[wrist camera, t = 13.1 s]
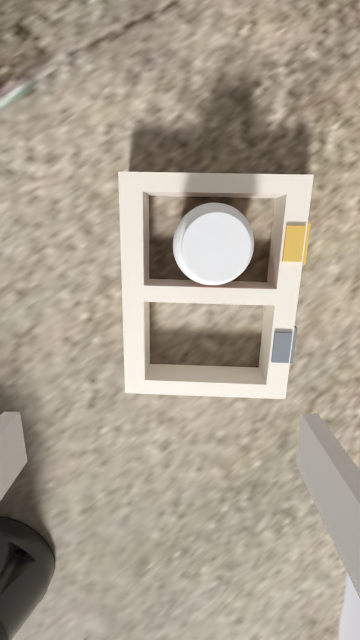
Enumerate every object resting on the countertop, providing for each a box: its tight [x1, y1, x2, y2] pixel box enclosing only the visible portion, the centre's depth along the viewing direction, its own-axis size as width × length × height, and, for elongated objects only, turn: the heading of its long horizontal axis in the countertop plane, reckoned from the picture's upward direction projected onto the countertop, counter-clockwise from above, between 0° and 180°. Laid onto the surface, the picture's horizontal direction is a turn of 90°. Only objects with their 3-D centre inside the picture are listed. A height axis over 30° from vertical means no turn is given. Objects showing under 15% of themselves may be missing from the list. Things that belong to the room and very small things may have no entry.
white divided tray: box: [118, 172, 314, 399], centre depth 31 cm, size 16×20×4 cm
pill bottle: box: [173, 203, 254, 285], centre depth 26 cm, size 6×6×11 cm
